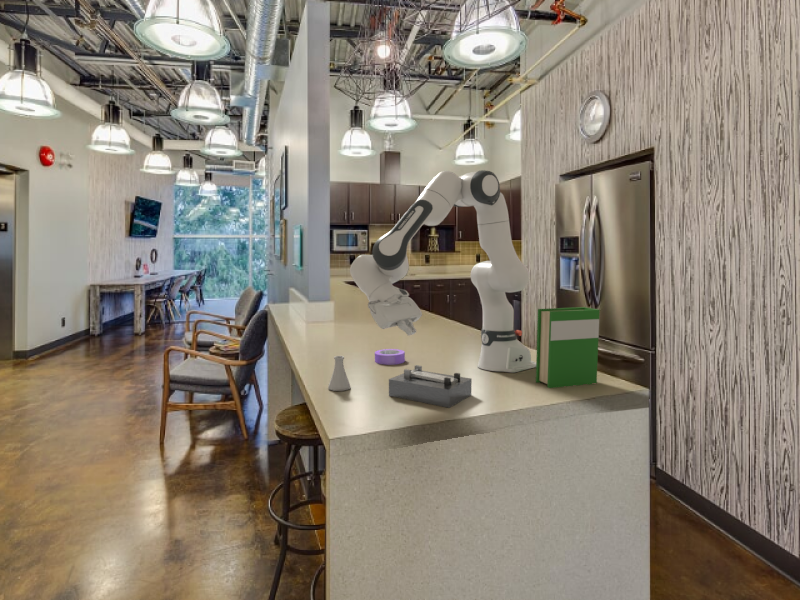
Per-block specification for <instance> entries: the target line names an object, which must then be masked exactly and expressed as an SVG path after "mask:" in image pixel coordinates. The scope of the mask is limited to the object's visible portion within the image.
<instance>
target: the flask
mask: <svg viewBox="0 0 800 600" xmlns="http://www.w3.org/2000/svg"><path fill="white" fill-rule="evenodd" d="M333 358H334V368H333V371H332V374H331V377H330V380H329V384H328V388H327V389H328V390H329V391H334V392H340V391H343V392H344V391H347V390H350V389H351V383H350V381H349V379H348V375H347V373H346V372H347V371H346V370H345V365H344V359H345V356H344V355H336V356H335V355H334V356H333Z"/></svg>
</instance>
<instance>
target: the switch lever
mask: <svg viewBox="0 0 800 600" xmlns="http://www.w3.org/2000/svg"><path fill="white" fill-rule="evenodd" d="M412 370H413V371H411V376H413V377H418V378H423V379H427V380H432V381H437V382H442V383H444V378H445V377H447V376H442V375H437V374H432V373H427V372H428V371H427V372H422V371H423V370H422V371H418V370H415V369H412ZM448 378H451V384H453V383H455V382H457V381H458V379H457V378H452V377H448Z"/></svg>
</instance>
